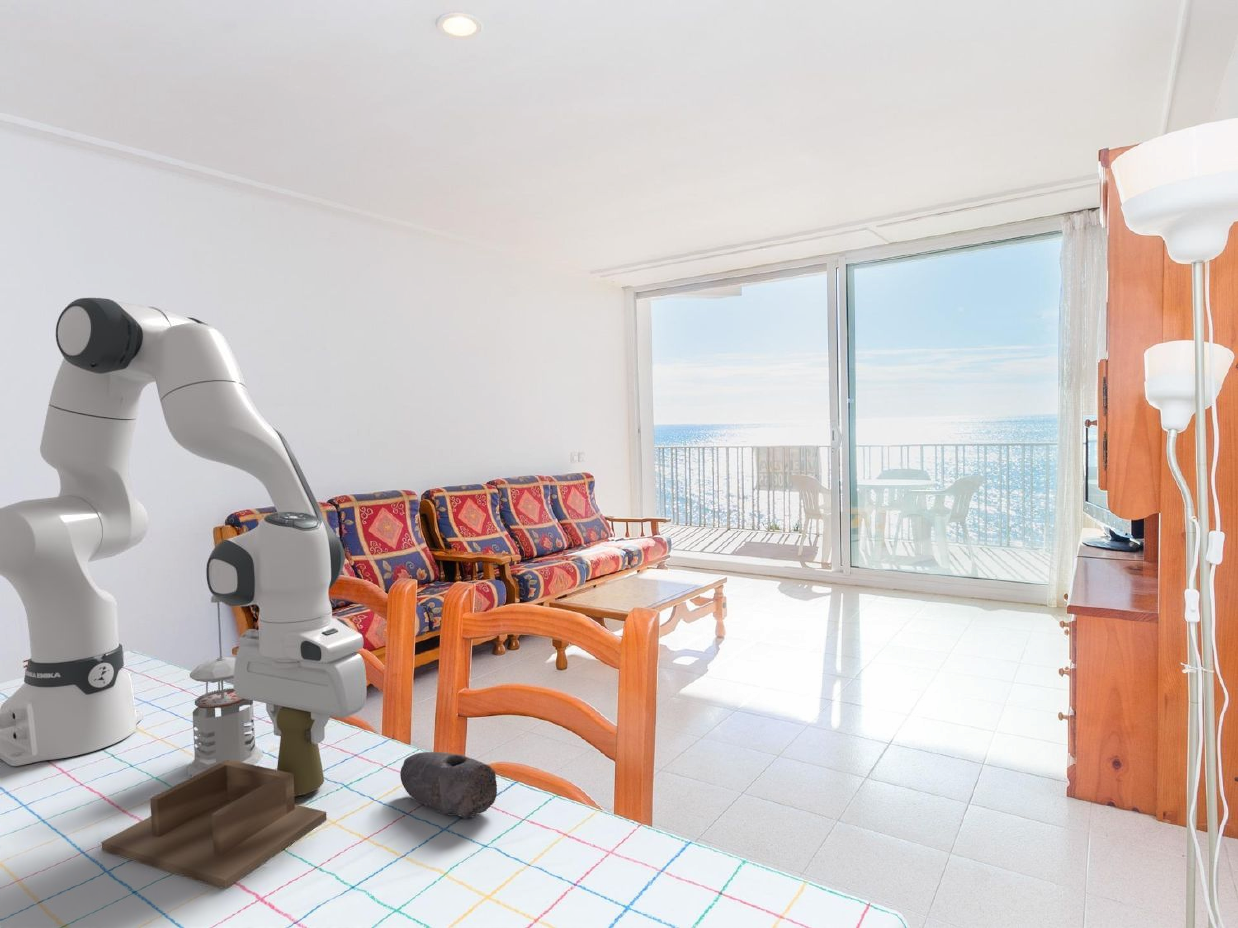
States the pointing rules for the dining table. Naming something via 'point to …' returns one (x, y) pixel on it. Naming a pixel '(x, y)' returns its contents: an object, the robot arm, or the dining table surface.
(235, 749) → the french press
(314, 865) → the dining table surface
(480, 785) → the perforated stone tool
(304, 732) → the cork
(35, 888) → the dining table surface
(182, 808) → the u rest
